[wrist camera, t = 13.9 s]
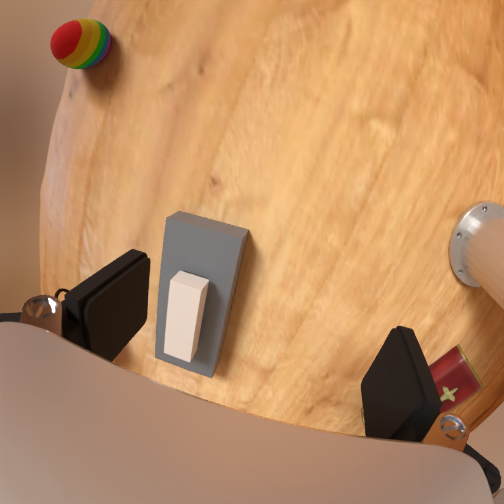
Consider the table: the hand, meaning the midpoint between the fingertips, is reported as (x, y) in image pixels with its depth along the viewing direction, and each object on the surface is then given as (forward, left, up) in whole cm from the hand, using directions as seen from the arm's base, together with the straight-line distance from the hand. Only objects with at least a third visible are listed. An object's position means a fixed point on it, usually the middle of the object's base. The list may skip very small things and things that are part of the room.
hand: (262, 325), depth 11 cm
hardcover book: (-33, +27, -29) cm, 51 cm away
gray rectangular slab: (+10, +18, -28) cm, 35 cm away
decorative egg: (+35, -17, -28) cm, 48 cm away
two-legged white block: (+10, +18, -28) cm, 35 cm away
